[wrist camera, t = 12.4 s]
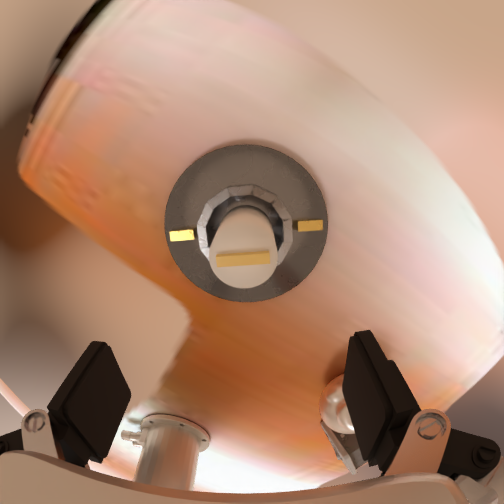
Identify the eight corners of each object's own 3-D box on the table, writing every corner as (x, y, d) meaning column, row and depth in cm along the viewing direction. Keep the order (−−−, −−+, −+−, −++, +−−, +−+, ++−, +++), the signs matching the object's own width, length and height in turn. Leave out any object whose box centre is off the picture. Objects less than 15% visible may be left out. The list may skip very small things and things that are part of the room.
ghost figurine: (385, 357, 34) (411, 409, 25) (356, 401, 37) (372, 450, 28) (329, 351, 33) (347, 411, 24) (304, 398, 37) (313, 453, 27)
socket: (181, 300, 31) (176, 312, 29) (157, 155, 25) (148, 156, 23) (324, 291, 30) (329, 303, 28) (322, 141, 25) (328, 140, 22)
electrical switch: (318, 419, 39) (333, 463, 30) (348, 407, 39) (366, 449, 30) (330, 441, 42) (343, 479, 33) (356, 430, 42) (372, 467, 33)
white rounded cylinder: (217, 207, 26) (203, 229, 19) (270, 203, 26) (276, 223, 19) (223, 256, 28) (212, 293, 21) (273, 253, 28) (279, 289, 21)
